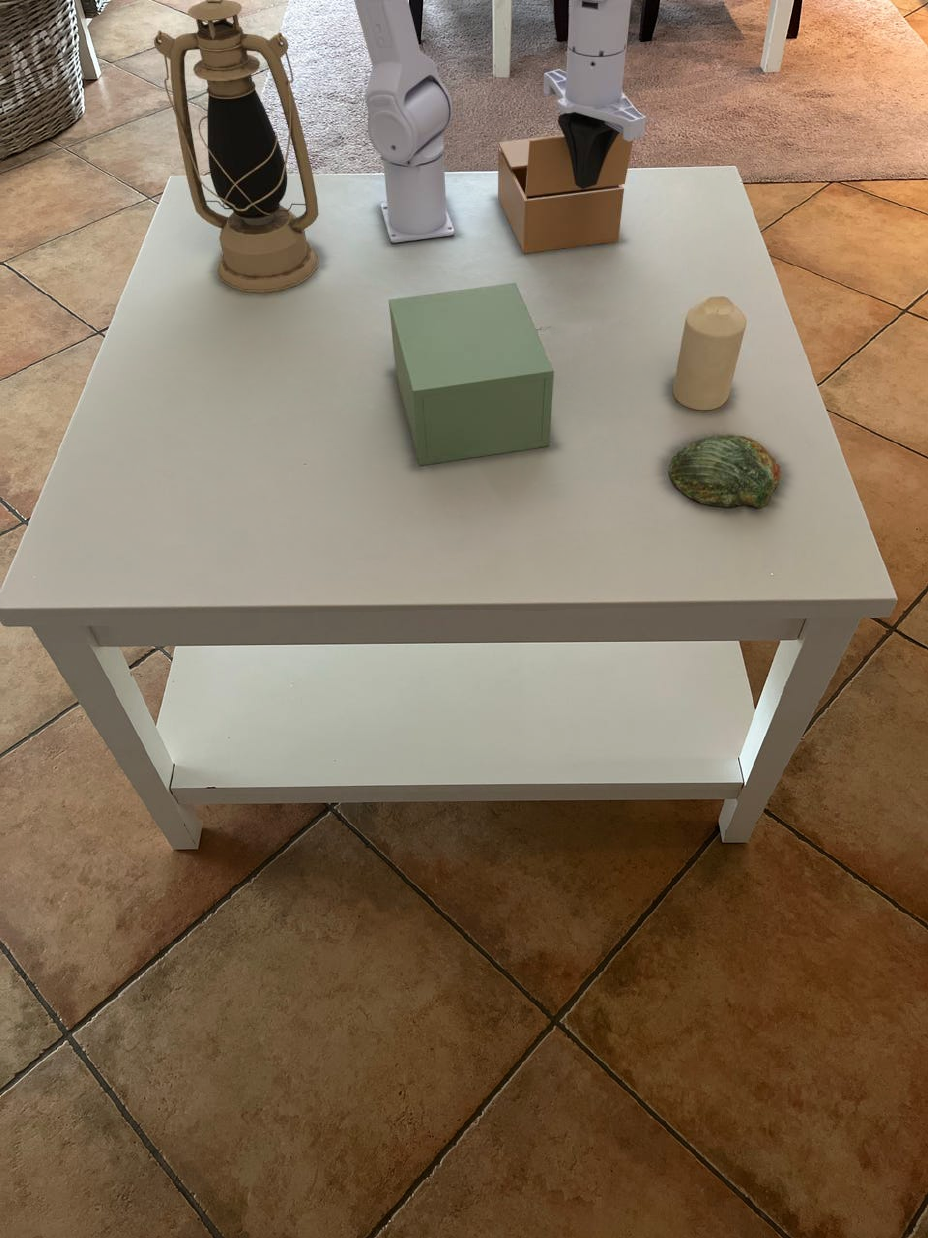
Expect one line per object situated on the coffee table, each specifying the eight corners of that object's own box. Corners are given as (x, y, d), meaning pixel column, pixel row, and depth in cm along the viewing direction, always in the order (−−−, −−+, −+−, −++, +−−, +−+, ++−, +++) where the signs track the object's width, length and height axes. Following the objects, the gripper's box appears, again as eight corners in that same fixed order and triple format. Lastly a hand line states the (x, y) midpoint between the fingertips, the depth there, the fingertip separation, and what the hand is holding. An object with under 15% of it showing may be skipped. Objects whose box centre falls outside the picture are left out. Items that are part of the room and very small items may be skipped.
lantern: (194, 289, 106) (108, -12, 82) (223, 236, 113) (152, -54, 90) (316, 295, 104) (265, -10, 81) (337, 241, 112) (296, -53, 88)
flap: (624, 182, 105) (624, 184, 105) (524, 194, 103) (525, 196, 103) (634, 126, 99) (635, 128, 99) (529, 139, 98) (530, 141, 97)
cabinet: (395, 373, 95) (388, 299, 88) (514, 357, 96) (515, 282, 89) (419, 466, 86) (412, 391, 79) (549, 446, 87) (554, 370, 80)
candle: (727, 413, 89) (749, 324, 82) (670, 407, 90) (687, 318, 82) (729, 379, 93) (750, 290, 85) (674, 374, 93) (690, 285, 86)
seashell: (747, 393, 84) (815, 459, 79) (741, 427, 88) (805, 493, 82) (653, 430, 83) (714, 500, 77) (650, 463, 86) (709, 533, 80)
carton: (618, 241, 110) (624, 182, 105) (523, 253, 109) (524, 194, 103) (586, 187, 119) (590, 130, 113) (497, 198, 117) (498, 141, 112)
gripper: (521, 32, 92) (518, 168, 102) (610, 79, 84) (597, 222, 95) (577, 16, 94) (569, 151, 105) (669, 61, 86) (650, 202, 97)
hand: (586, 184), depth 100 cm, fingers closed
